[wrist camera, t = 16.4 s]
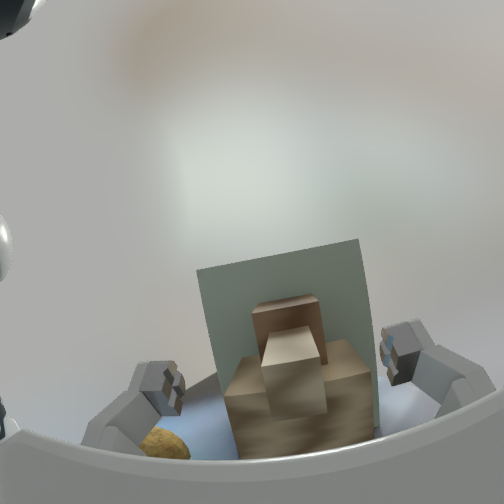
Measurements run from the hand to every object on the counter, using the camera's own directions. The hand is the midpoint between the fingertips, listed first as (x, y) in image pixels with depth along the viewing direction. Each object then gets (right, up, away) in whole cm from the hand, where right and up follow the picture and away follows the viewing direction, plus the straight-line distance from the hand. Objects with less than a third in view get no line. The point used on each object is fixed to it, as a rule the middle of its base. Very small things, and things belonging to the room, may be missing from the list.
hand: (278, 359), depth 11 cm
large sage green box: (+7, -22, +29) cm, 37 cm away
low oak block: (+6, -22, +15) cm, 27 cm away
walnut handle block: (+3, -7, +13) cm, 15 cm away
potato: (-13, -26, +21) cm, 35 cm away
